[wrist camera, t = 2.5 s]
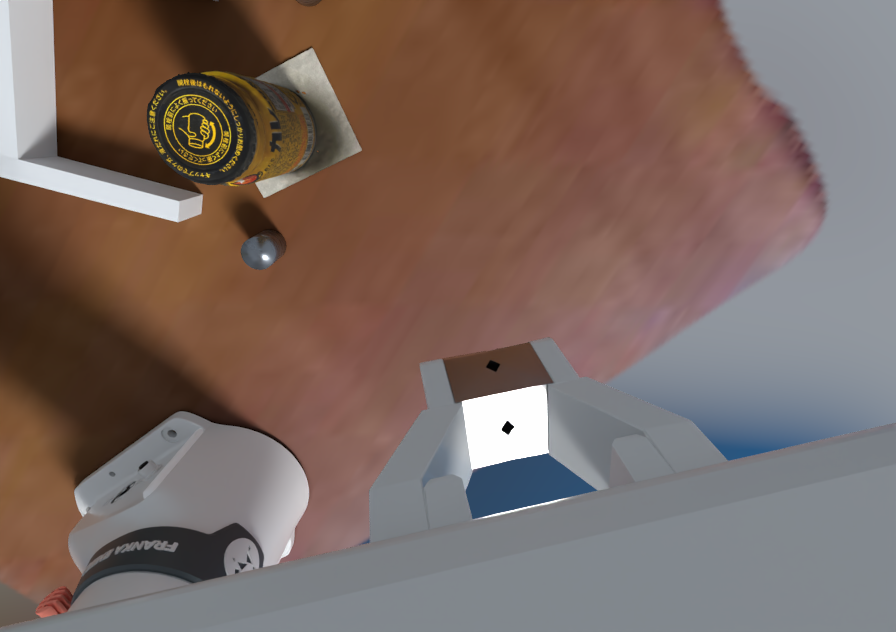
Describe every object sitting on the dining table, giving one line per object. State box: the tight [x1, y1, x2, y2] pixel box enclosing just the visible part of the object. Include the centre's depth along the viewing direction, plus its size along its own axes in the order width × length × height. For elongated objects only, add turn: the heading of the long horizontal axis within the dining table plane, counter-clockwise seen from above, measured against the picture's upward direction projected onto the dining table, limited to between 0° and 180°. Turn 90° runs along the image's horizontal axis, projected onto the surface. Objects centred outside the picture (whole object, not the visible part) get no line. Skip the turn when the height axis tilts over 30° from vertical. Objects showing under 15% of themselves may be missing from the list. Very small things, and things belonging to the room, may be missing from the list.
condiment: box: [147, 48, 362, 198], centre depth 29 cm, size 7×8×12 cm
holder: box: [0, 0, 218, 222], centre depth 31 cm, size 12×16×4 cm
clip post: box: [241, 230, 286, 270], centre depth 36 cm, size 2×2×3 cm
